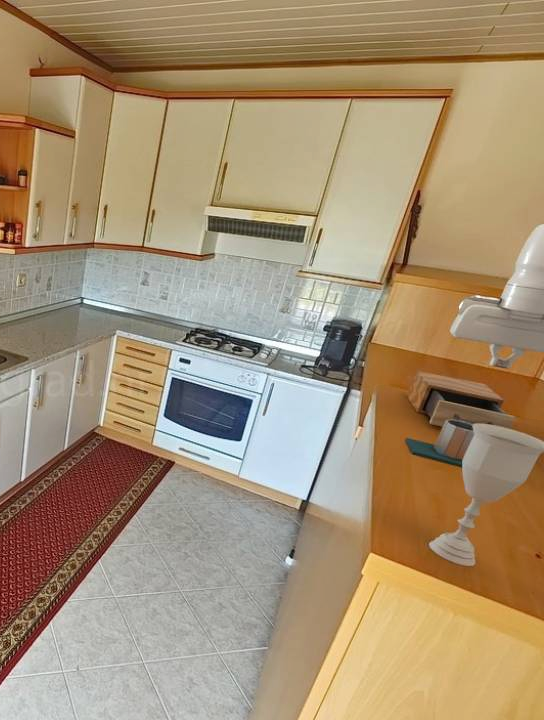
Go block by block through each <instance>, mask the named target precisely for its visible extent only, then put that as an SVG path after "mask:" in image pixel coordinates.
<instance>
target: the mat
mask: <svg viewBox="0 0 544 720" xmlns="http://www.w3.org/2000/svg"><path fill="white" fill-rule="evenodd" d="M405 442H406V444H407V446H408V448H409V450H410V452H411V454H412V455H415V456H418V457H422V458H426V459H430V460H434V461H437V462H441V463H445V464H450V465H453V466H457V467H461V468H462V461H459V460H454V459H451V458H448V457H445V456H443V455H441V454H439V453H438V452H436V450H435V448H434V446H435V444H434V443H429V442H425V441H421V440H417V439H413V438H409V437H406V438H405Z"/></svg>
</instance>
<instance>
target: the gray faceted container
mask: <svg viewBox="0 0 544 720" xmlns="http://www.w3.org/2000/svg"><path fill="white" fill-rule="evenodd" d="M473 436H474V431H473V425H472V424H470V423H466V422H463V421H458V420H452V419H449V420H445V423H444V425H443V427H441V429H440V432H439V434H438V436H437V439H436V440H435V444H434V445H435V446H434V448H435V450H436V452H438V453H439V454H441V455H443V456H445V457H448V458H451V459H454V460H459V461H462V460H463V458H464V455H465V453H466V451H467V449H468V447H469V445H470V443H471V440H472V438H473Z"/></svg>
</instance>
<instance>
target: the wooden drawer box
mask: <svg viewBox="0 0 544 720" xmlns="http://www.w3.org/2000/svg"><path fill="white" fill-rule="evenodd" d="M424 409H425V410H426V412H427V413H428V415H427V416H429V418H430V420H429V424H430V425H433V426H437V427H441V428H442V427H443V425H444V423H445V420H449V419H452V420H458V421H463V422H466V423H470V424H472V425H473V424H477V423H479V424H489V425H495V426H499V427H504V428H508V429H512V426H513V424H514V423H515V420H516V416H515V415H511V414H508V413H507V412H506V411H505V410H503V409H502V407H501V408H500V407H499V406H498V405H497V404H495V403H494V402H493V401H489V400H485V399H480V398H475V397H471V396H466V395H461V394H456V393H452V392H447V391H442V390H437V389H433V388H431V390H430V392H429V395H428V397H427V399H426V402H425V404H424Z"/></svg>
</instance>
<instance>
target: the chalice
mask: <svg viewBox="0 0 544 720" xmlns="http://www.w3.org/2000/svg"><path fill="white" fill-rule="evenodd" d="M473 431H474V436H473V438H472V440H471V443H470V445H469V447H468V449H467V451H466V453H465V455H464V458H463V460H462V467H461V468H462V470H461V471H462V472H461V473H462V474H461V475H462V479H463V485H464V490H465V493H466V494H467V495H468V496H469V497H471V503H470V504H469V505H468V506H467V507H465V508H464V509H463V510H464V516H463V517H462V518H460V519H457V522H458V529H457V530H456V531H453V532H445V533H444V532H443V533H441V534H440V535H439V536H437V537H435V539H434V540H431V541H429V543H428V546H429V548H430V549H431V551H432V552H434V553H435V554H437V555H438V556H440V557H441V558H443V559H445V560H447V561H449V562H452V563H454V564H456V565H460V566H466V567H473V566H476V559H475V557H476V553H475V547H474V545H473V543H472V542H471V541H470V540H469V538H468V537H467V535H468V532H470V530H471V529H474V528H476V526H475V523H474V520H475V519H476V518H477V517H479V516H481V513H480V511H481V506H482V505H483V504H484V503H495V502H496V501H499V500H500V499H502V498H503V497H505V496H507V495H509V494H510V493H512V492H513V491H515V490H517V489H518V488H519V487H520V486H521V485H523V484H524V483H525V482H526V481H527V480H528V478H529V475H530V474H531V471H532V470H533V468H534V466H535V464H536V463H537V460H538V458H539V456H540V455H541V454H543V453H544V441H543V440H542V439H539V438H537V437H535V436H532V435H530V434H528V433H524V432H521V431H518V430H516V429H515V430H514V429H512V428H510V429H508V428H504V427H499V426H495V425H489V424H479V423H477V424H473Z"/></svg>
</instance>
